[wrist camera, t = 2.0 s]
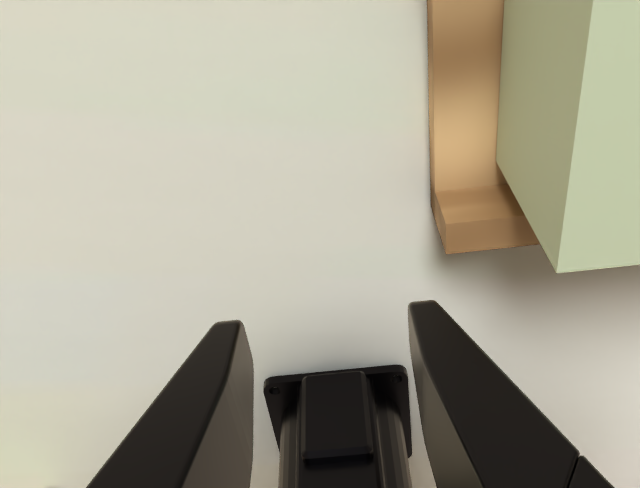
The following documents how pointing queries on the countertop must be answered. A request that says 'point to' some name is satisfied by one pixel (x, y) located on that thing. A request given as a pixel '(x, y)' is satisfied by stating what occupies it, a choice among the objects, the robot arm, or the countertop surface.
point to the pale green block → (573, 127)
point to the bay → (469, 129)
